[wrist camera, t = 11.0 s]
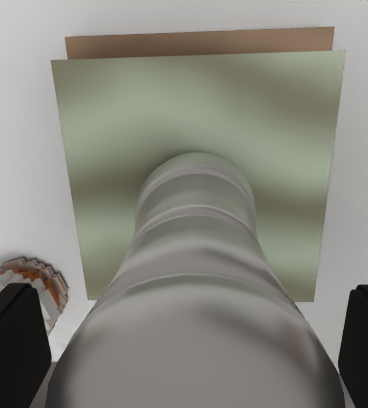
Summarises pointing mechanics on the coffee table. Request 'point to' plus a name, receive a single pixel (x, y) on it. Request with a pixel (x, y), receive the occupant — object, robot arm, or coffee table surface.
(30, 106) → the coffee table surface
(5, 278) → the decorative ornament
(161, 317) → the plastic bottle
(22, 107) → the coffee table surface
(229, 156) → the walnut stand
